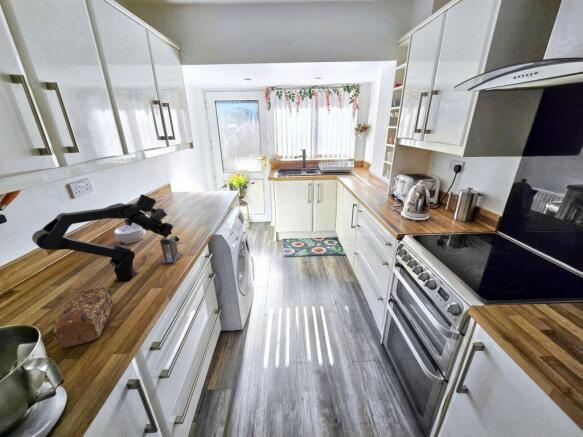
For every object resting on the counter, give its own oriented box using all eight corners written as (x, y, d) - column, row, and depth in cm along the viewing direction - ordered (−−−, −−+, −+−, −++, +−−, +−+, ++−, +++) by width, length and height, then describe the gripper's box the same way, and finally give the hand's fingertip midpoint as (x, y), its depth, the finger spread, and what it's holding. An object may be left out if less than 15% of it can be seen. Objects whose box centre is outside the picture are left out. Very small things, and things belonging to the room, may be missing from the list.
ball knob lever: (175, 241, 126) (174, 235, 126) (180, 241, 126) (180, 235, 126) (163, 245, 115) (163, 239, 115) (169, 245, 115) (169, 239, 115)
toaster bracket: (170, 254, 124) (165, 234, 120) (182, 254, 124) (177, 234, 120) (161, 264, 116) (156, 242, 112) (173, 264, 116) (168, 242, 112)
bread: (101, 339, 75) (90, 315, 71) (58, 351, 71) (44, 326, 68) (116, 302, 91) (108, 280, 88) (82, 310, 88) (72, 288, 84)
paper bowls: (125, 248, 133) (121, 235, 130) (112, 242, 140) (108, 230, 138) (152, 237, 145) (149, 225, 142) (139, 232, 152) (135, 221, 150)
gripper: (164, 208, 106) (190, 222, 119) (142, 202, 116) (168, 216, 128) (151, 230, 103) (179, 243, 116) (129, 222, 112) (157, 235, 125)
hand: (171, 233), depth 121 cm, fingers closed
